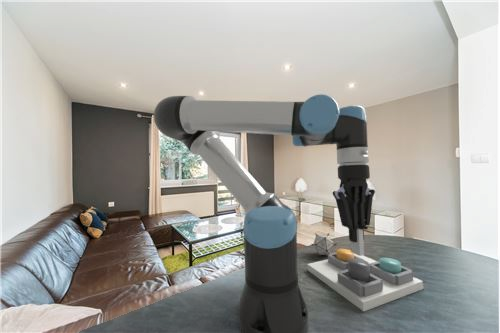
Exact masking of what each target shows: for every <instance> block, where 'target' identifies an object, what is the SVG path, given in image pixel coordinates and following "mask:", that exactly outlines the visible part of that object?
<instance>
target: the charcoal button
mask: <svg viewBox="0 0 500 333" xmlns="http://www.w3.org/2000/svg"><path fill="white" fill-rule="evenodd" d="M348 275H349V276H350V277H351V278H353V279H355V280H358V281H369V280H370V264H369V263H368V262H367V261H365V260H362V259H358V258H350V259H348Z"/></svg>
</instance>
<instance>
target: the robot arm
mask: <svg viewBox="0 0 500 333" xmlns="http://www.w3.org/2000/svg"><path fill="white" fill-rule="evenodd" d="M153 119H154V120H153V121H154V123H155V124H154V125H155V126H156V128H157V129H158V131H159V132H160V133H161V134H163V135H164V136H165V137H167V138H170V139H174V140H176V141H179V142H181V143H183V144H184V146H185V147H186V148H187V149H188V150H189V151H190V153H191V155H195V156H196V155H197V156H199V157H200V158H201V159H202V160H203V162H204V163H205V164H206V165H207V166H208V167H209V168H210V170H211V171H212V173H214V175H215V176H216V177H217V178H218V180H219V181H220V182H221V183H222V185H223V186H224V187H225V188H226V189H227V191H229V193H230V194H231V195H232V196H233V198H234V199H235V201H236V202H237V203H238V204H239V205H240V206H241V207H242V209H243V210H244V212H245V214H244V219H243V227H242V233H243V248H244V250H243V251H244V277H245V278H244V279H245V280H244V285H243V289H242V292H241V296H240V299H239V302H238V306H237V322H238V326H239V330H240V332H241V331H242V332H243V333H308V330H309V313H308V308H307V305H306V301H305V299H304V296H303V293H302V291H301V288H300V284H299V273H298V272H299V269H298V245H297V244H298V239H297V238H298V236H297V235H298V219H297V217H296V214H295V213H294V211H293V210H292V208H291V207H289V206H288V205H286V204H285V203H283V202H282V201H281V200H280V198H279V197H278V196H277V195H276V194H275V193H273V192H267V191H266V190H265V189H264V188H263V187H262V185H261V184H260V183H259V182H258V181H257V180H256V179H255V178H254V176H253V175H252V174H251V173H250V172H249V170H248V169H247V168H246V167H245V166H244V165H243V164H242V162H240V160H239V159H238V158H237V157H236V156H235V155H234V153H233V152H231V150H230V149H229V147H227V145H226V144H225V143H224V142H223V141H222V139H220V137H221V136H220V135H221V133H226V132H227V133H242V134H259V135H279V136H280V135H281V136H292V144H293V146H295V147H312V146H323V145H336V164H337V165H338V166H337V178H338V179H339V180H340V184H339V188H338V189H337V190H334V191H333V192H332V196H333V197H334V199H335V202H336V207H337V209H338V210H337V211H338V213H339V219H340V223H341V226H342V227H345V228H347V229H348V239H349V240H348V241H350V250H351V252H352V253H354V254H357V255H359V256H362V255H363V256H365V246H364V244H365V243H364V240H365V230H366V231H367V230H368V229H369V227H368V226H370V225H371V219H372V216H371V215H372V208H373V207H372V206H373V198H374V196H375V193H376V191H375V189H371V188H370V187H369V185H368V183H367V180H368V179H370V178H371V177H370V176H371V175H370V174H371V173H370V166H369V165H368V164H367V163H369V149H368V148H369V143H368V121H367V113H366V108H364V107H363V106H361V105H348V106H343V107H340V108H339V105H338V102H337V101H336V100H335V99H334V98H333V97H331V96H330V95H326V94H322V93H321V94H319V93H318V94H316V95H313V96H311V97H309V98H307V99H306V100H305V101H274V100H273V101H269V100H268V101H265V100H264V101H262V100H261V101H259V100H257V101H256V100H210V99H209V100H199V99H196V98H195V97H194V96H193V95H173V96H168V97H165V98H163V99H162V100H160V101H159V102H158V103H157V104H156V106H155V108H154V111H153ZM220 132H221V133H220ZM242 332H241V333H242Z"/></svg>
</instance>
